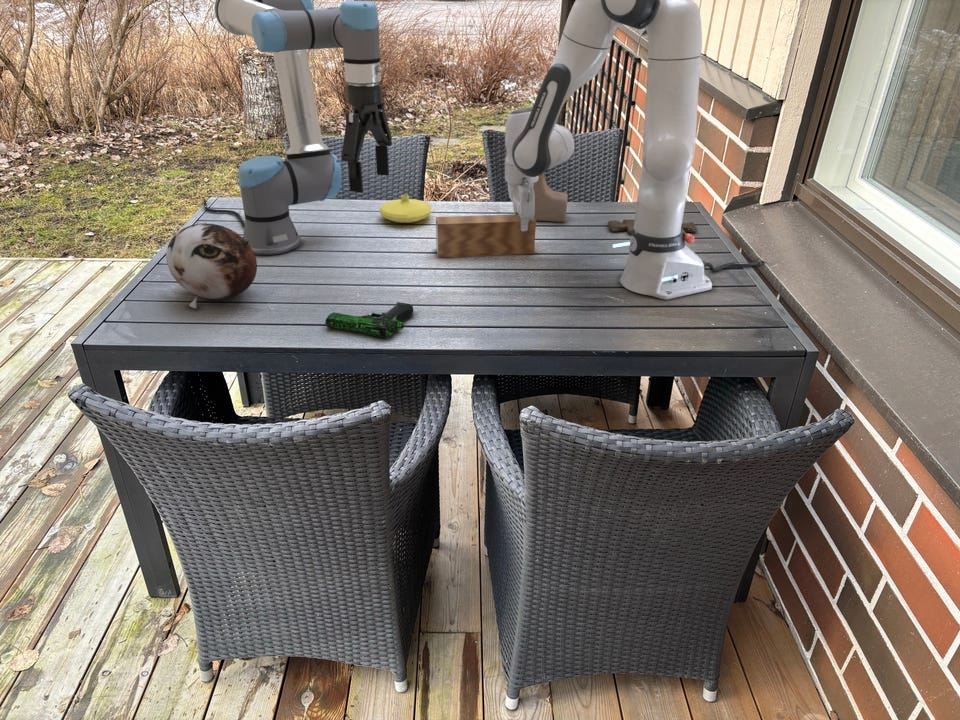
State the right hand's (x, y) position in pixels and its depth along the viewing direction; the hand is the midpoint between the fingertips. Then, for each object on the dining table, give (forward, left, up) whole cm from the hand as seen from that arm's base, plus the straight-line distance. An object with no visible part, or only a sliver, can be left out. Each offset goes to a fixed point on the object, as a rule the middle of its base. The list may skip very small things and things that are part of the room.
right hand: (520, 224), depth 192 cm
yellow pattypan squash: (+26, -32, -8) cm, 42 cm away
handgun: (+44, +33, -8) cm, 56 cm away
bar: (+10, -1, -8) cm, 12 cm away
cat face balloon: (+78, +11, -8) cm, 80 cm away
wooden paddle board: (-43, -7, -8) cm, 45 cm away
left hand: (+41, +15, +18) cm, 48 cm away
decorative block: (-15, -24, -8) cm, 29 cm away
